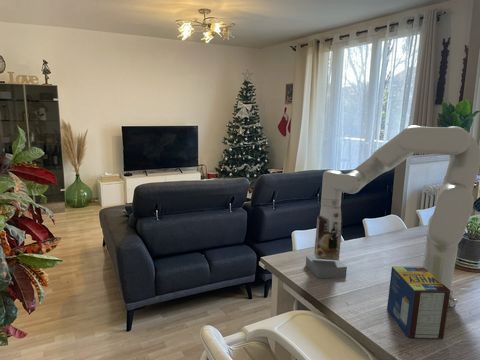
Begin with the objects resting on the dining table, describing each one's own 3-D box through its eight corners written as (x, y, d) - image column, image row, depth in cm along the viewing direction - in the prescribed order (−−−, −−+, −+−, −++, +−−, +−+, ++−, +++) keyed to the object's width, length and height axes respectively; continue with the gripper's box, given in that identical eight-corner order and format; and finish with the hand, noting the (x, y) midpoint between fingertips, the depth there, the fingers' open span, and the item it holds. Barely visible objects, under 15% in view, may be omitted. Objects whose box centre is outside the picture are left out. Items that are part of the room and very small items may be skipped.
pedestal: (346, 276, 138) (346, 266, 137) (317, 278, 135) (318, 269, 134) (331, 263, 149) (332, 254, 148) (305, 265, 146) (306, 256, 146)
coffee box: (315, 259, 138) (318, 220, 135) (314, 252, 144) (316, 215, 141) (339, 260, 137) (342, 221, 134) (336, 254, 143) (339, 217, 140)
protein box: (417, 309, 116) (423, 266, 113) (443, 339, 101) (451, 290, 97) (385, 308, 116) (391, 265, 113) (407, 338, 101) (414, 289, 97)
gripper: (351, 207, 129) (347, 252, 132) (329, 196, 145) (326, 236, 149) (332, 208, 127) (328, 253, 131) (312, 196, 144) (309, 237, 147)
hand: (327, 244), depth 140 cm, fingers closed on coffee box, 7 cm apart
